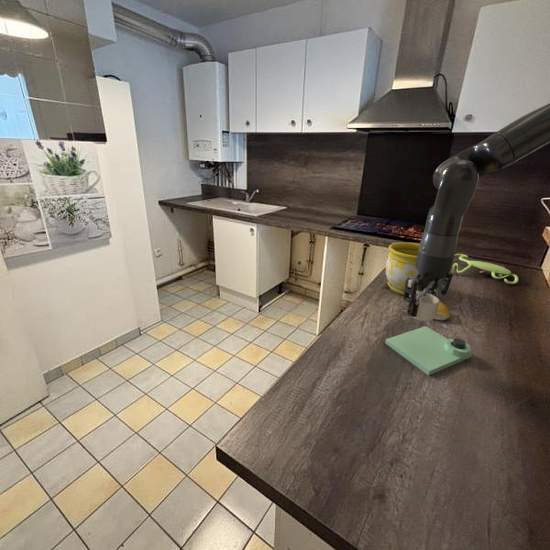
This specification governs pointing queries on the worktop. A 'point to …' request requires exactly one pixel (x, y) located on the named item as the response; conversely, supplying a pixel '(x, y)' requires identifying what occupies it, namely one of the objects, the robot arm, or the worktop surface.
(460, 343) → the power button
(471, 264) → the figurine
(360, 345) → the worktop surface
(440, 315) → the bread roll
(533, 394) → the worktop surface
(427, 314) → the bowl
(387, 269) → the flowerpot
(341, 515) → the worktop surface
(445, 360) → the scale
